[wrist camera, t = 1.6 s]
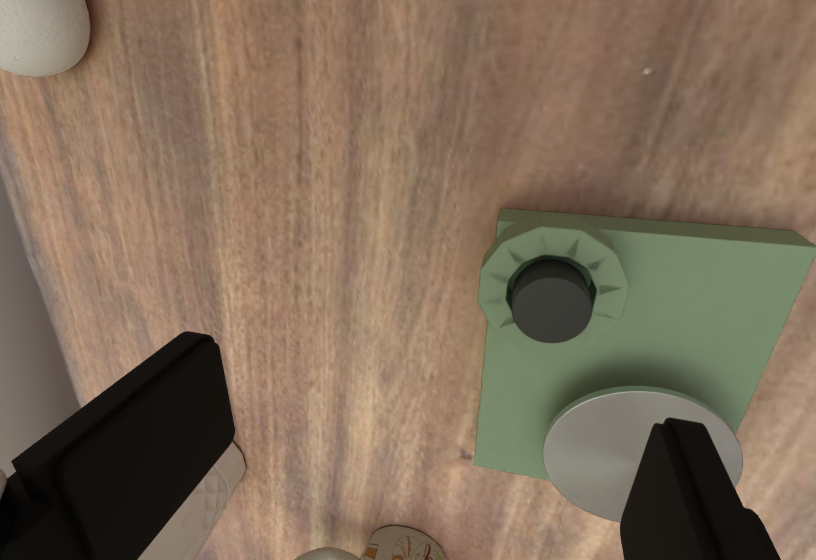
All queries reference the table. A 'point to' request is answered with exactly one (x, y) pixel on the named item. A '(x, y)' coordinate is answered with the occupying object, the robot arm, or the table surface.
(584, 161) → the table surface
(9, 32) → the garlic bulb
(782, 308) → the scale
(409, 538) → the mug
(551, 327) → the tare button
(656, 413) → the pan
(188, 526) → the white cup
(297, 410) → the table surface
